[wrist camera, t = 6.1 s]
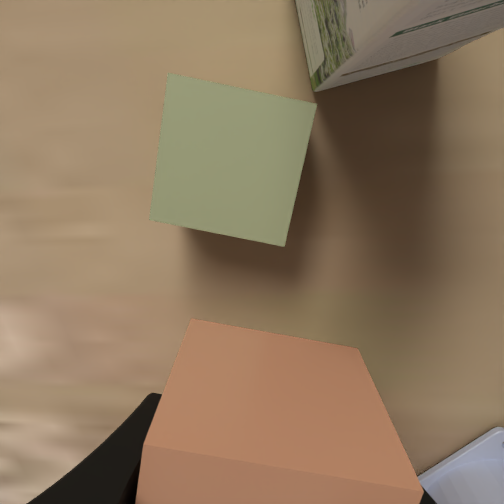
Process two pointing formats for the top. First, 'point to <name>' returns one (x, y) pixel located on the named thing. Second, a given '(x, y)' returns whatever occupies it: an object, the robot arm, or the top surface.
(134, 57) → the top surface
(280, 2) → the top surface
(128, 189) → the top surface
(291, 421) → the terracotta block
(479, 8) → the syrup box
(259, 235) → the olive block
